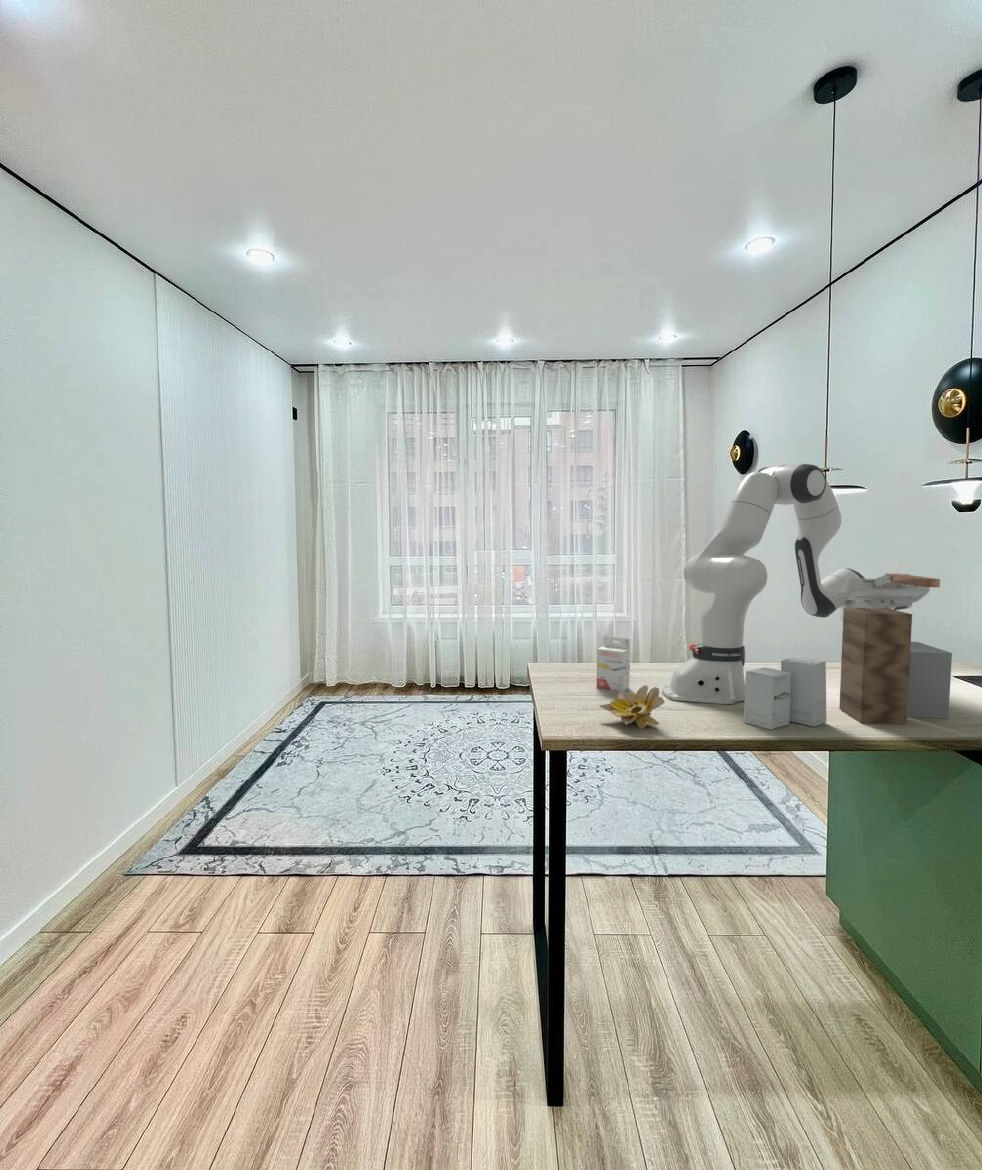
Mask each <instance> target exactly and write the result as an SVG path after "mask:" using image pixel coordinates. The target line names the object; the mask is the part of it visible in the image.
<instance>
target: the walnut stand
mask: <svg viewBox="0 0 982 1170" xmlns="http://www.w3.org/2000/svg"><path fill="white" fill-rule="evenodd" d="M912 622H913V613H908V612H904V611H900V610H892V609H888V608H844V611H843V622H842V634H841V635H842V639H841V660H840V661H841V662H840V682H839V683H840V685H839V688H840V689H839V706H838V707H839V710H840V709H841V710H840V711H842V712H844V713H845V714H846V715H848V716H849V717H851V718H852V719H853V720H855V721H857V722H858V723H860V724H874V725H877V724H878V725H900V726H901V725H902V726H903V725H904V726H905V725H907V722H908V717H907V705H908V686H909V666H910V647H911V642H912V624H913V623H912Z"/></svg>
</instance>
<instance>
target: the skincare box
mask: <svg viewBox="0 0 982 1170" xmlns="http://www.w3.org/2000/svg"><path fill="white" fill-rule="evenodd" d="M826 665H827V662H826V661H825V660H819V659H811V658H810V659H809V658H801V657H795V656H792V657H789V658H785V659H782V660H780V670H781V671H786V672H791V693H790V717H789V722H793V723H797V724H801V725H805V726H809V727H813V728H814V727H817V726H820V725H824V724H826V723H827V668H826V667H827V666H826Z"/></svg>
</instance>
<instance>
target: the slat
mask: <svg viewBox="0 0 982 1170" xmlns="http://www.w3.org/2000/svg"><path fill="white" fill-rule="evenodd" d="M891 574H892V578H893V579H892V581H891V582H895V583H902V584H908V585H914V586H921V587H929V588H941V578H935V577H927V576H919V575H911V574H909V575H904V573H891Z"/></svg>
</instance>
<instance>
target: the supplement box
mask: <svg viewBox="0 0 982 1170" xmlns="http://www.w3.org/2000/svg"><path fill="white" fill-rule="evenodd" d="M744 680H745V700H744V708H743V709H744V711H743V712H744V713H743V722H744V723H746V724H748V725H751V726H752V725H753V726H755V727H760V728H762V729H766V730H770V731H771V730H773V729H777V728H781V727H784V726H789V725H790V721H789V717H790V693H791V672H786V671H781V669H774V668H768V667H761V668H756V669H750V670H749V669H748V670H746V671H745V679H744Z"/></svg>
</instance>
